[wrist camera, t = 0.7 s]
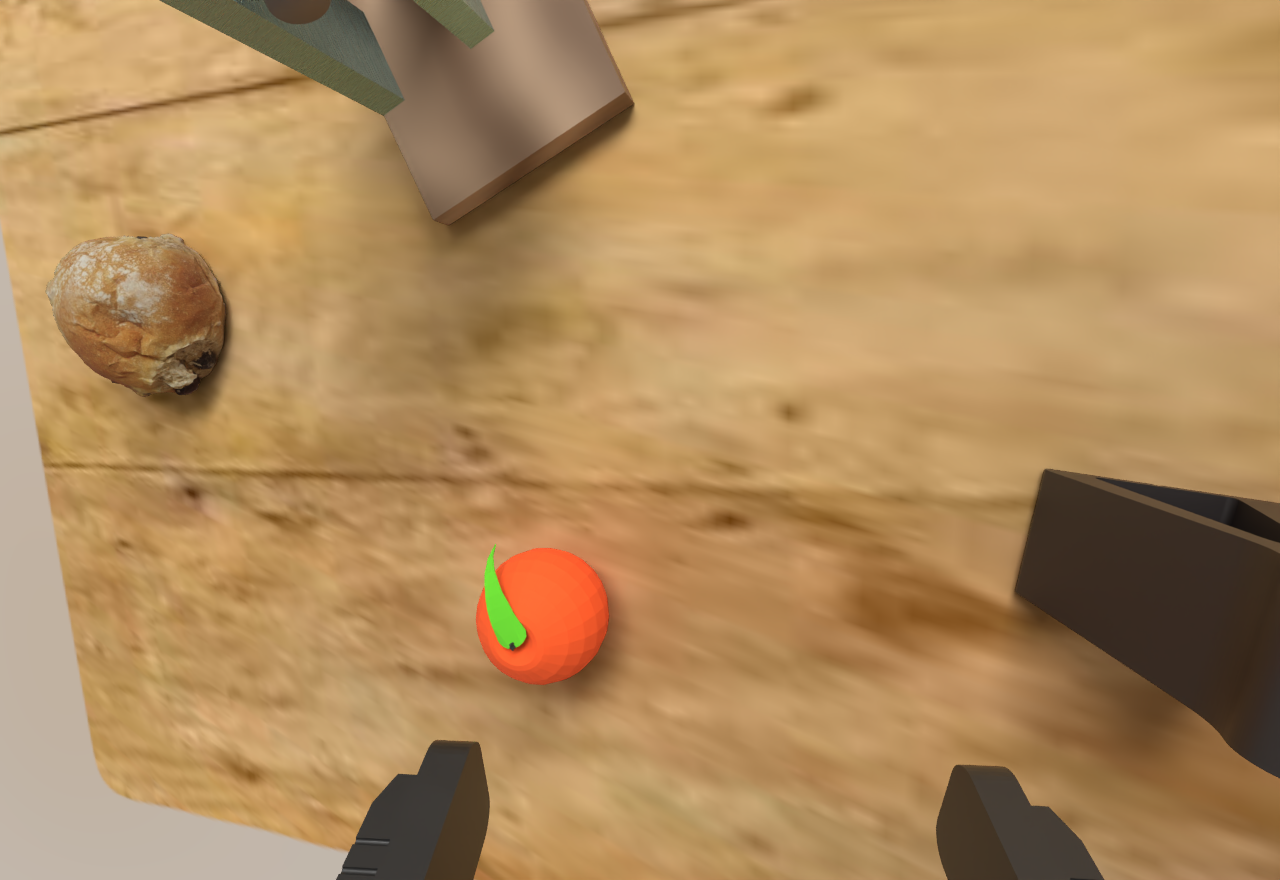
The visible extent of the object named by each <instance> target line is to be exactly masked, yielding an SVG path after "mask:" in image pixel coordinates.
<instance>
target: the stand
mask: <svg viewBox="0 0 1280 880" xmlns="http://www.w3.org/2000/svg"><path fill="white" fill-rule="evenodd" d="M264 1H265V3H266V5H267V7H268V9H269V11H270V12H271V13H272V14H273V15H274V16H275V17H276V18H278V19H279V20H281V21H283V22H286V23H290V24H307V23H311V22H313V21H316V20H318V19H319V18H321V17H322V16H323V15H324V14H325V13H326V12H327V10H328V9H329V6H330V2H331V0H264ZM348 1H349V2H350V3H352V4H353V5H354V6H356V7H357V8H359V9H360V10H361V11H363V12H364V14H365V16H366V18H367V20H368V22H369V24H370V27H371V29H372V31H373V33H374V35H375V37H376V39H377V42H378V44H379V46H380V48H381V50H382V52H383V54H384V56H385V59H386V61H387V63H388V65H389V67H390V69H391V71H392V74H393V76H394V78H395V80H396V82H397V84H398V86H399V88H400V91H401V93H402V95H403V97H404V99H405V100H404V101H403V102H402V103H400V104H399V105H398V106H396V107H395V108H394V109H392V110H391V111H390V112H389V113H387V114H386V115H385V116H384V117H385V119H386V121H387V123H388V125H389V127H390V129H391V132H392V134H393V136H394V138H395V140H396V142H397V144H398V146H399V149H400V151H401V153H402V155H403V157H404V159H405V161H406V163H407V166H408V168H409V170H410V172H411V174H412V176H413V178H414V181H415V183H416V185H417V187H418V189H419V191H420V193H421V195H422V198H423V200H424V202H425V204H426V206H427V208H428V210H429V212H430V215H431V217H432V219H433V220H434V221H437V222H440V223H444V224H447V225H450V224H452V223H453V222H455V221H456V220H458V219H459V218H461V217H462V216H464V215H465V214H467V213H468V212H470V211H472V210H473V209H475V208H476V207H478V206H479V205H481V204H482V203H484V202H485V201H487V200H488V199H490V198H491V197H493V196H494V195H496V194H497V193H499V192H500V191H502V190H503V189H505V188H507V187H508V186H510V185H511V184H513V183H514V182H516V181H517V180H519V179H520V178H522V177H523V176H525V175H526V174H528V173H529V172H531V171H532V170H534V169H535V168H537V167H538V166H540V165H541V164H543V163H545V162H546V161H548V160H549V159H551V158H552V157H554V156H555V155H557V154H558V153H560V152H561V151H563V150H564V149H566V148H567V147H569V146H570V145H572V144H573V143H575V142H576V141H578V140H579V139H581V138H583V137H584V136H586V135H587V134H589V133H590V132H592V131H593V130H595V129H596V128H598V127H599V126H601V125H602V124H604V123H605V122H607V121H608V120H610V119H611V118H613V117H614V116H616V115H618V114H619V113H621V112H622V111H624V110H625V109H627V108H628V107H630V106H631V105H633V104H634V102H633V100H632V98H631V95H630V93H629V91H628V89H627V87H626V84H625V82H624V80H623V78H622V76H621V74H620V71H619V69H618V67H617V65H616V63H615V60H614V58H613V56H612V54H611V52H610V50H609V47H608V45H607V43H606V41H605V39H604V36H603V34H602V32H601V30H600V28H599V25H598V23H597V21H596V19H595V17H594V15H593V12H592V10H591V8H590V6H589V4H588V1H587V0H481V2H482V5H483V7H484V9H485V11H486V13H487V15H488V18H489V20H490V22H491V24H492V26H493V28H494V32H493V33H492V34H490V35H489V36H488V37H486V38H485V39H484V40H483V41H481V42H480V43H479V44H477V45H476V46H475V47H473V48H472V49H470V48H469V47H468V46H467V45H466V44H465V43H463V42H462V41H461V40H460V39H459V38H457V37H456V36H455V35H454V34H453V33H451V32H450V31H449V30H448V29H447V28H445V27H444V26H443V25H442V24H441V23H439V22H438V21H437V20H436V19H435V18H433V17H432V16H431V15H430V14H429V13H427V12H426V11H425V10H424V9H423V8H421V7H420V6H419V5H418V4H417V3H415V2H414V1H413V0H348Z"/></svg>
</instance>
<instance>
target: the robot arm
mask: <svg viewBox="0 0 1280 880" xmlns="http://www.w3.org/2000/svg"><path fill="white" fill-rule="evenodd" d="M489 808H490V801H489V792H488V787H487V781H486V775H485V770H484V764H483V759H482V753H481V748H480V745H479V743H478V742H469V741H446V740H435V741H434V742H433V743H432V744H431V745H430V747H429V749H428V751H427V753H426V755H425V758H424V760H423V762H422V765H421V767H420V769H419V772H418V774H417V775H409V774H398V775H397V776H396V777H395V778H394V779H393V780H392V781H391V782H390V784H389V785H388V786H387V787H386V788H385V789H384V790H383V791H382V793H381V794H380V795H379V796H378V797H377V798H376V799H375V800H374V801H373V803H372V804H371V807H370V809H369V811H368V813H367V815H366V817H365V819H364V821H363V824H362V826H361V828H360V830H359V832H358V834H357V836H356V842H355V844H353V845H352V847H351V849H350V851H349V853H348V855H347V858H346V860H345V862H344V864H343V869H342V872H341V874H339V875H338V877H337V879H336V880H473V879H474V875H475V872H476V868H477V865H478V861H479V857H480V854H481V850H482V847H483V843H484V840H485V836H486V831H487V826H488V819H489ZM936 836H937V845H938V850H939V855H940V859H941V862H942V865H943V868H944V871H945V873H946V876H947V879H948V880H1104V878H1103V877H1102V875H1101V873H1100V872H1099V870H1098V868H1097V866H1096V865H1095V863H1094V861H1093V860H1092V858H1091V856H1090V854H1089V853H1088V851H1087V849H1086V848H1085V846H1084V844H1083V842H1082V841H1081V840H1080V839H1079V838H1078V837H1077V836H1076V834H1075V833H1074V832H1073V831H1072V830H1071V829H1070V828H1069V827H1068V826H1067V825H1066V824H1065V823H1064V822H1063V821H1062V820H1061V819H1060V818H1059V817H1058V816H1057V815H1056V814H1055V813H1054V812H1053V811H1052V810H1051V809H1050V808H1049V807H1045V806H1031V805H1030V803H1029V801H1028V799H1027V797H1026V796H1025V794H1024V792H1023V790H1022V788H1021V786H1020V784H1019V783H1018V781H1017V779H1016V777H1015V776H1014V775H1013V773H1012V772H1011V771H1010V770H1009V769H1007V768H1006V767H999V766H976V765H956V766H955V767H954V768H953V770H952V773H951V777H950V780H949V783H948V786H947V790H946V793H945V796H944V799H943V803H942V806H941V809H940V812H939V816H938V819H937V825H936Z"/></svg>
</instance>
